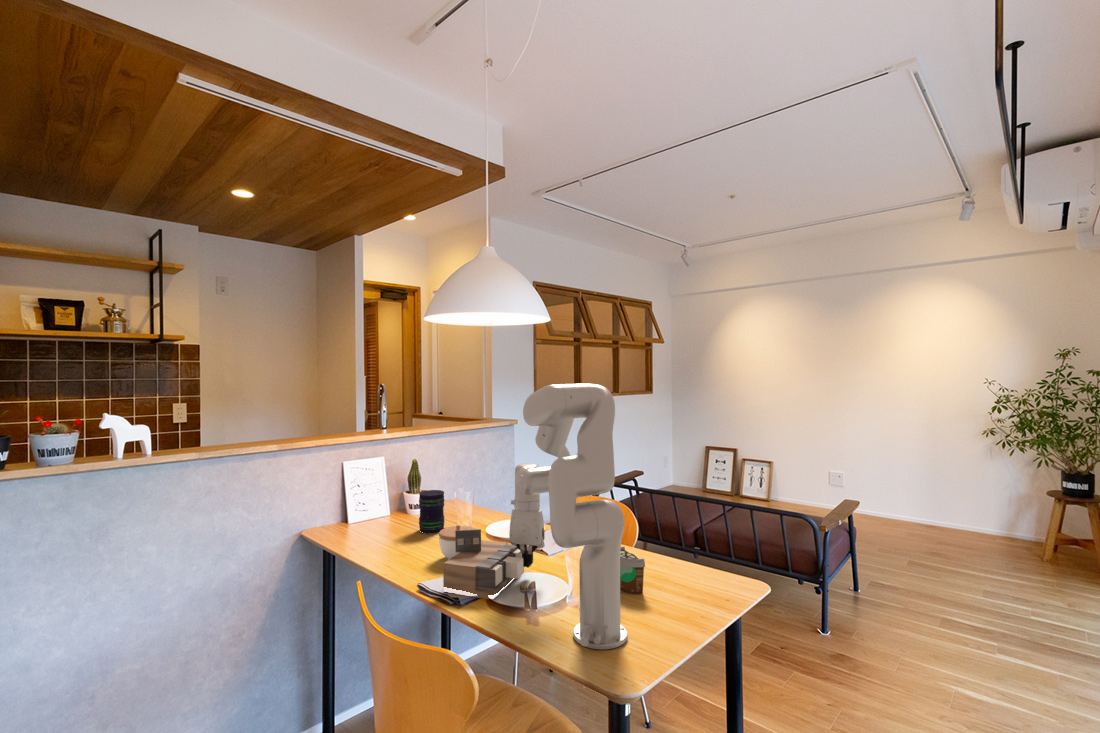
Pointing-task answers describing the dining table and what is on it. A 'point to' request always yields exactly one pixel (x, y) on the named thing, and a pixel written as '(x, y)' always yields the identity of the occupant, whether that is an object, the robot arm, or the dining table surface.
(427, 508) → the storage jar
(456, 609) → the dining table surface
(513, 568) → the button mid
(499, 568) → the button
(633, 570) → the food container
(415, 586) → the dining table surface
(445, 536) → the lidded bowl
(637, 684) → the dining table surface
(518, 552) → the button
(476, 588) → the console
